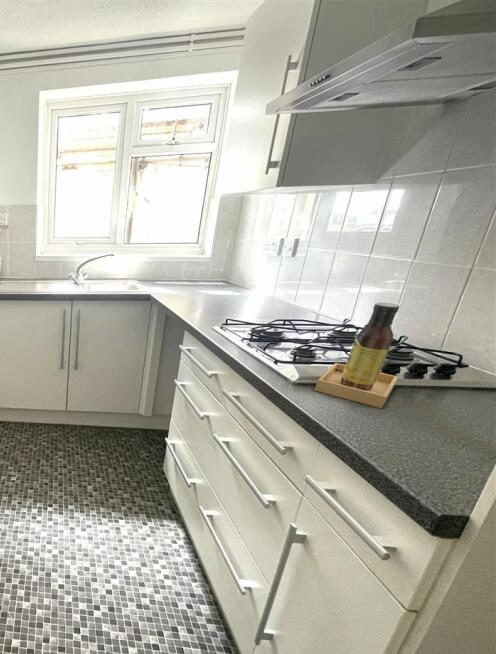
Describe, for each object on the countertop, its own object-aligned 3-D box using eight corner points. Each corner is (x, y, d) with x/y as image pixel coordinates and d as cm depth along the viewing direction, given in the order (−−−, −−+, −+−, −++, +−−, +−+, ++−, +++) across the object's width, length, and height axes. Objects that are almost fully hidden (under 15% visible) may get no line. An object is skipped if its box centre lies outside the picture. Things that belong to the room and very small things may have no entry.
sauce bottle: (348, 379, 103) (380, 299, 95) (378, 388, 98) (414, 305, 90) (332, 383, 101) (363, 302, 93) (361, 393, 96) (397, 308, 88)
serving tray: (331, 372, 109) (335, 362, 108) (393, 387, 101) (398, 376, 100) (314, 390, 99) (318, 379, 98) (381, 408, 91) (386, 396, 90)
